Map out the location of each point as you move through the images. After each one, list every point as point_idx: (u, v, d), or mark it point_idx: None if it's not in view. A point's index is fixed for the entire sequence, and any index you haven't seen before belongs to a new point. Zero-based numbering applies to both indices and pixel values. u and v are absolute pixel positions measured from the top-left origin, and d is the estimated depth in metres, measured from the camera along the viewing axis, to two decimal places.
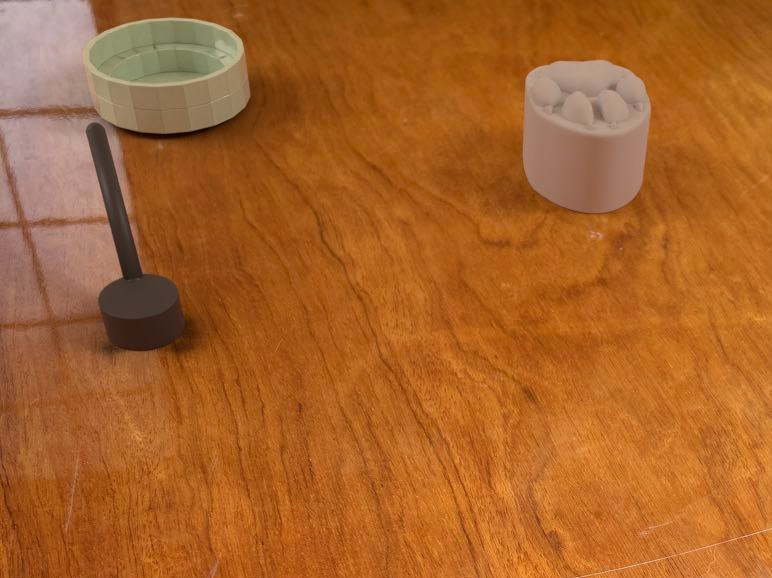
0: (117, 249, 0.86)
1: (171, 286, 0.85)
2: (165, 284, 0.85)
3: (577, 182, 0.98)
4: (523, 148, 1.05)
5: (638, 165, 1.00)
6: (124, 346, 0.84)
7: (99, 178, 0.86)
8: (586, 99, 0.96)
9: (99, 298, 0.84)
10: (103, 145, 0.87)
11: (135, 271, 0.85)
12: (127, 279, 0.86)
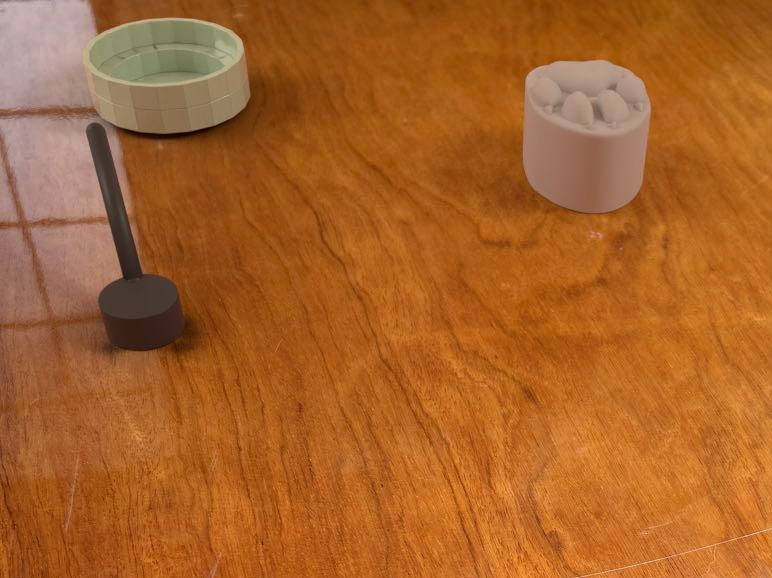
0: (117, 249, 0.86)
1: (171, 286, 0.85)
2: (165, 284, 0.85)
3: (577, 182, 0.98)
4: (523, 148, 1.05)
5: (638, 165, 1.00)
6: (124, 346, 0.84)
7: (99, 178, 0.86)
8: (586, 99, 0.96)
9: (99, 298, 0.84)
10: (103, 145, 0.87)
11: (135, 271, 0.85)
12: (127, 279, 0.86)
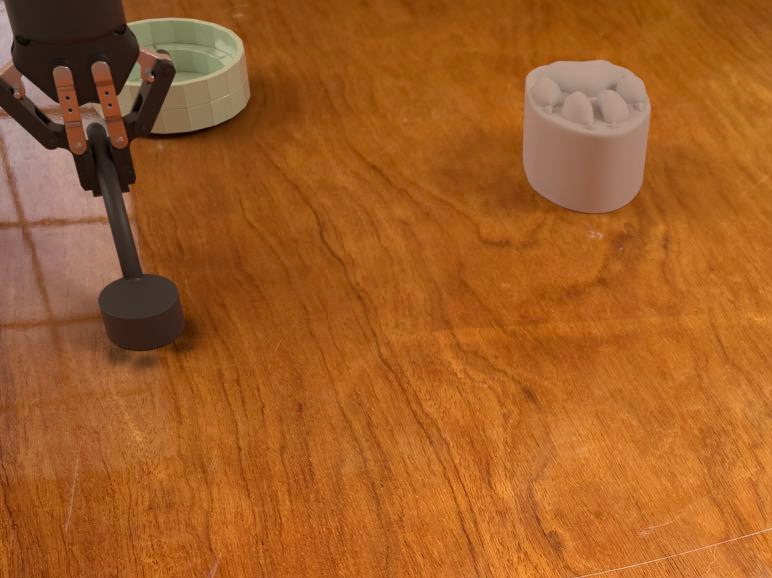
0: (117, 249, 0.86)
1: (172, 286, 0.85)
2: (165, 284, 0.85)
3: (577, 182, 0.98)
4: (523, 148, 1.05)
5: (638, 165, 1.00)
6: (124, 346, 0.84)
7: (99, 178, 0.86)
8: (586, 99, 0.96)
9: (99, 298, 0.84)
10: (104, 145, 0.87)
11: (135, 271, 0.85)
12: (127, 279, 0.86)
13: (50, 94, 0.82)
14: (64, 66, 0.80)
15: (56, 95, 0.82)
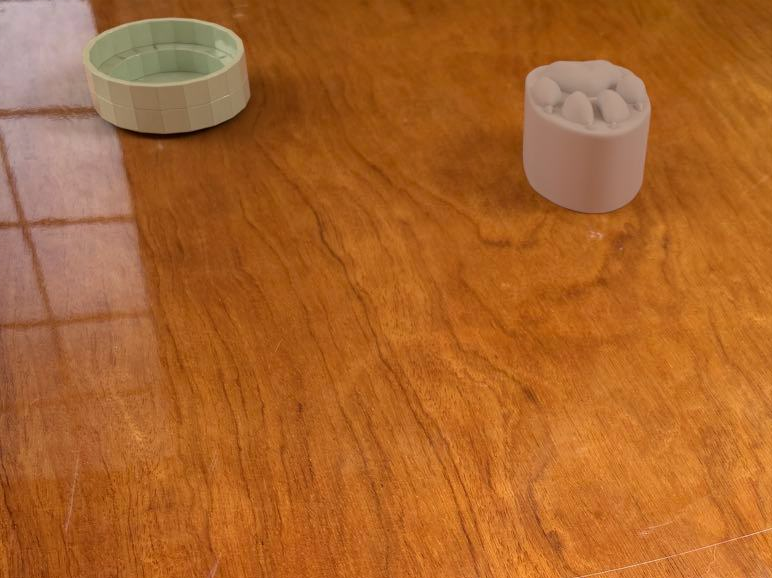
0: None
1: None
2: None
3: (577, 182, 0.98)
4: (523, 148, 1.05)
5: (638, 165, 1.00)
6: None
7: None
8: (586, 99, 0.96)
9: None
10: None
11: None
12: None
13: None
14: None
15: None
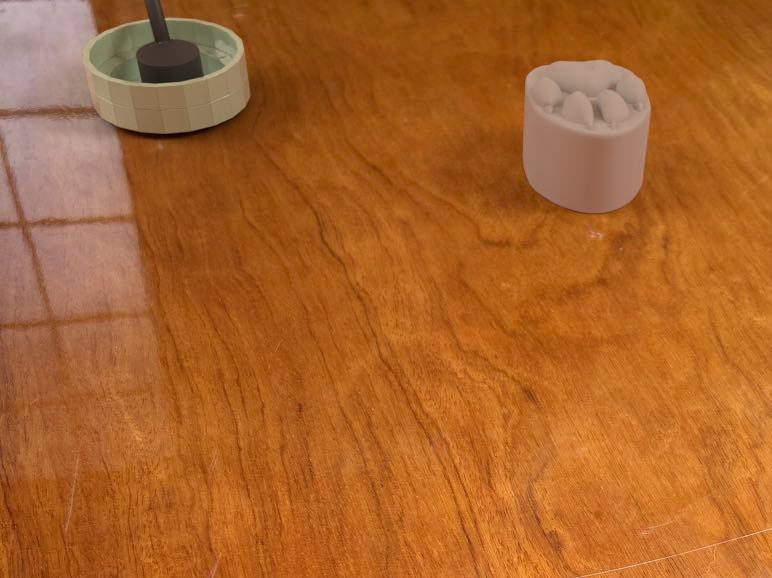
0: (150, 19, 1.07)
1: (194, 47, 1.06)
2: (189, 45, 1.07)
3: (577, 182, 0.98)
4: (523, 148, 1.05)
5: (638, 165, 1.00)
6: None
7: None
8: (586, 99, 0.96)
9: (136, 53, 1.05)
10: None
11: (164, 36, 1.07)
12: (158, 42, 1.07)
13: None
14: None
15: None
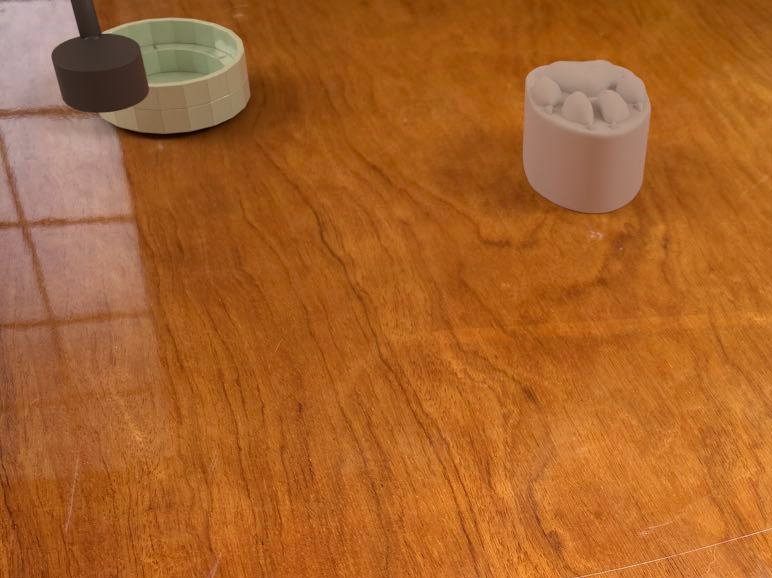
0: (73, 5, 0.78)
1: (133, 44, 0.77)
2: (126, 42, 0.77)
3: (577, 182, 0.98)
4: (523, 148, 1.05)
5: (638, 165, 1.00)
6: (81, 108, 0.76)
7: None
8: (586, 99, 0.96)
9: (52, 53, 0.76)
10: None
11: (93, 29, 0.77)
12: (84, 37, 0.77)
13: None
14: None
15: None
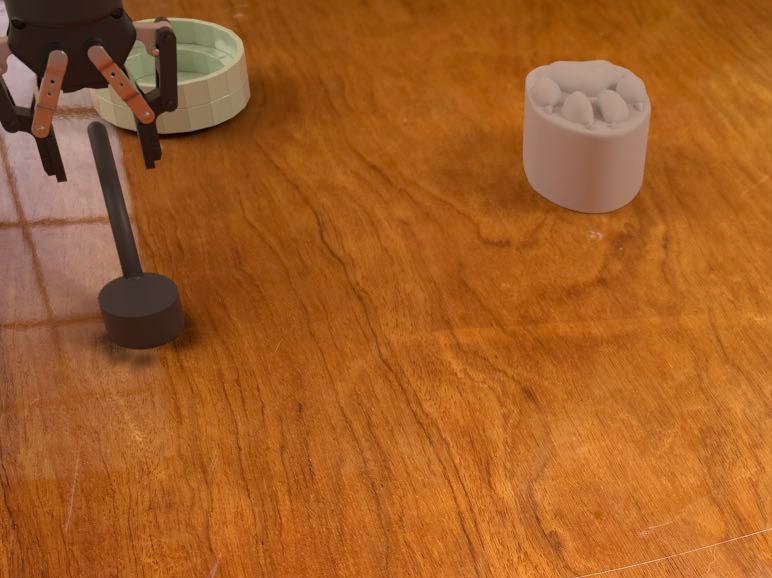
0: (117, 248, 0.86)
1: (171, 285, 0.85)
2: (165, 283, 0.85)
3: (577, 182, 0.98)
4: (523, 148, 1.05)
5: (638, 165, 1.00)
6: (124, 344, 0.84)
7: (100, 177, 0.87)
8: (586, 99, 0.96)
9: (99, 296, 0.84)
10: (104, 144, 0.87)
11: (135, 270, 0.86)
12: (127, 277, 0.86)
13: None
14: (60, 50, 0.79)
15: (41, 75, 0.81)
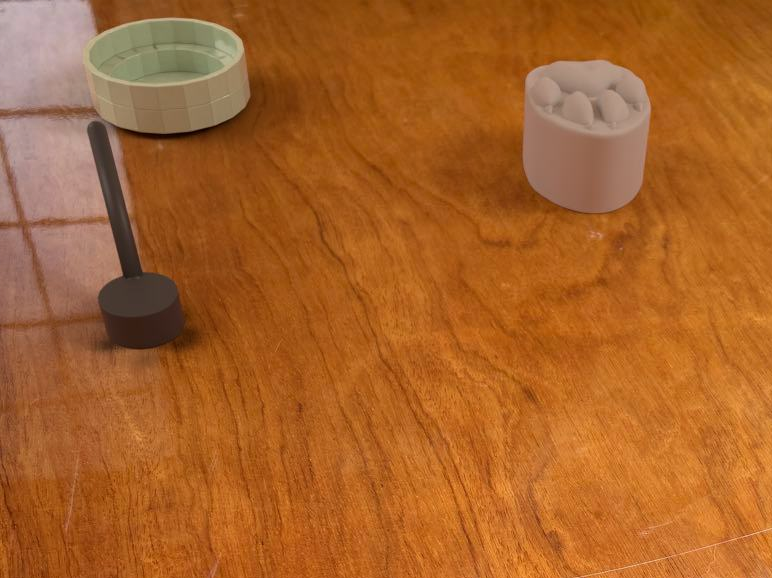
0: (117, 247, 0.86)
1: (171, 284, 0.85)
2: (165, 282, 0.85)
3: (577, 182, 0.98)
4: (523, 148, 1.05)
5: (638, 165, 1.00)
6: (124, 344, 0.84)
7: (100, 176, 0.87)
8: (586, 99, 0.96)
9: (99, 296, 0.84)
10: (104, 144, 0.87)
11: (135, 270, 0.86)
12: (127, 277, 0.86)
13: None
14: None
15: None
